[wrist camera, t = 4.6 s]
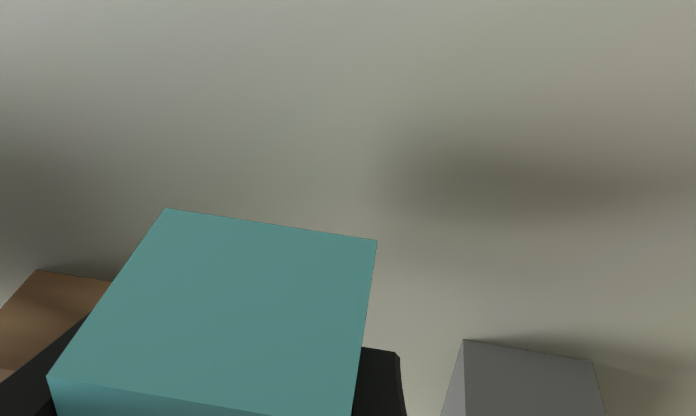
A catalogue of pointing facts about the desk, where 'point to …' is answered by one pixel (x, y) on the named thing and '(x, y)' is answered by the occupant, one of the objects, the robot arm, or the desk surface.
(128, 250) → the desk surface
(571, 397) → the gray cube
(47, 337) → the walnut block
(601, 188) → the desk surface
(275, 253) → the teal block
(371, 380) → the robot arm
